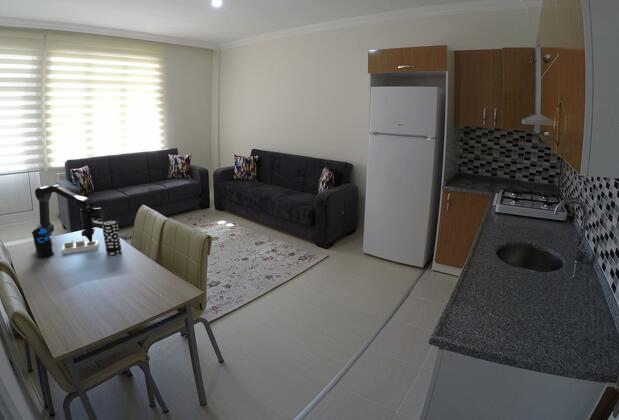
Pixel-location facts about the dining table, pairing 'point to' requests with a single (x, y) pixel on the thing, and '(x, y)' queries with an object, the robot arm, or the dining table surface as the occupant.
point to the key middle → (80, 242)
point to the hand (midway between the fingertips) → (91, 241)
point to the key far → (91, 242)
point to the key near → (68, 244)
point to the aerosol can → (42, 242)
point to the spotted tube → (111, 238)
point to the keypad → (80, 248)
